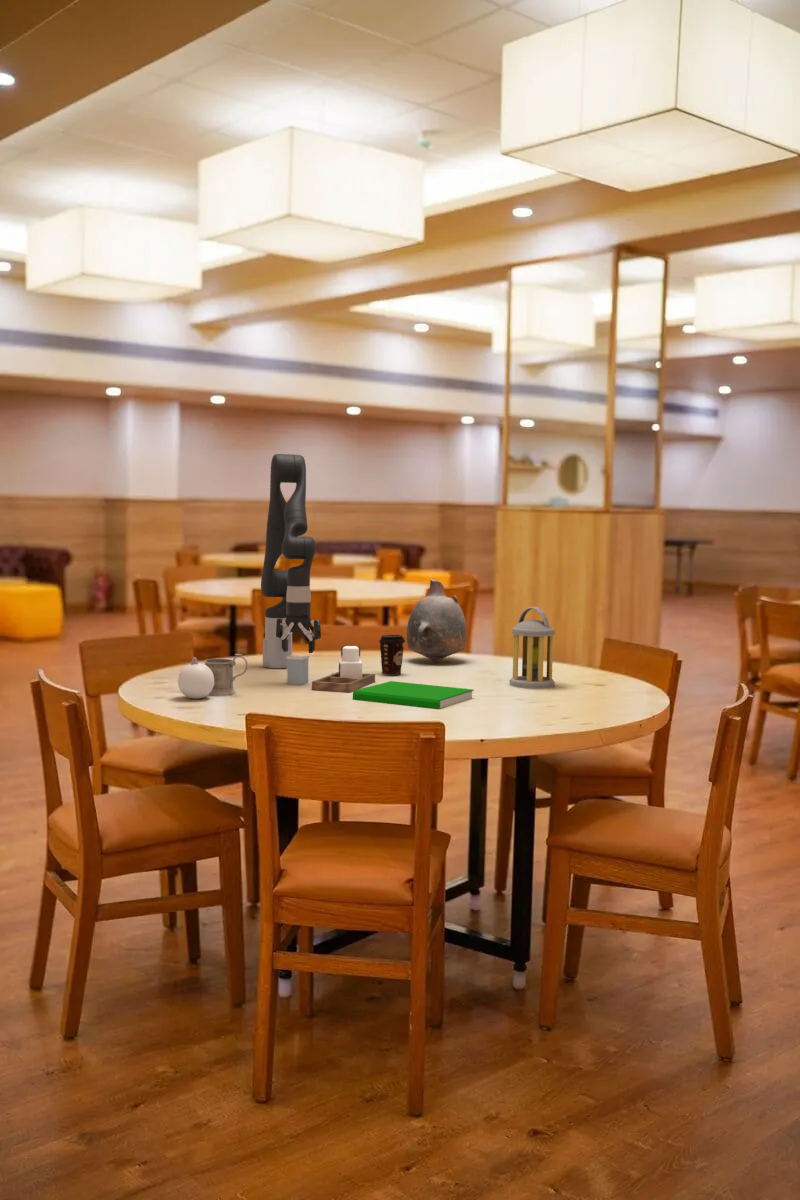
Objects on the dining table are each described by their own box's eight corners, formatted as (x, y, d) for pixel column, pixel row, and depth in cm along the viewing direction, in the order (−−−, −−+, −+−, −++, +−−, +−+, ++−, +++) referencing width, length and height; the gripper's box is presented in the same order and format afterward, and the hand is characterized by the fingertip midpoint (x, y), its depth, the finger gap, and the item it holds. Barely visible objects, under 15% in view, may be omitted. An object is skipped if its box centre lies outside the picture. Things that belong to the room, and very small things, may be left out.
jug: (467, 667, 416) (469, 581, 413) (406, 666, 416) (407, 580, 414) (464, 657, 440) (466, 576, 438) (406, 656, 441) (407, 575, 438)
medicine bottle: (338, 681, 380) (339, 644, 379) (361, 681, 381) (361, 644, 379) (339, 685, 373) (339, 647, 372) (362, 685, 373) (362, 647, 372)
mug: (195, 694, 352) (196, 653, 351) (213, 689, 361) (213, 650, 360) (238, 697, 347) (239, 657, 346) (255, 693, 356) (255, 653, 355)
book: (390, 690, 367) (390, 681, 367) (473, 699, 353) (473, 689, 353) (352, 701, 347) (352, 690, 347) (438, 710, 334) (438, 700, 334)
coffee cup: (405, 672, 400) (406, 634, 399) (403, 676, 392) (404, 637, 391) (380, 672, 401) (380, 633, 400) (377, 675, 393) (377, 636, 392)
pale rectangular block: (286, 684, 373) (286, 656, 372) (293, 681, 378) (293, 654, 377) (302, 685, 371) (302, 657, 371) (309, 682, 377) (309, 655, 376)
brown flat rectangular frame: (311, 689, 363) (311, 681, 363) (338, 679, 384) (338, 671, 384) (350, 692, 359) (350, 684, 359) (375, 681, 380) (375, 674, 380)
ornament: (184, 702, 338) (184, 660, 337) (173, 696, 347) (173, 655, 346) (218, 700, 343) (219, 658, 342) (207, 694, 352) (207, 654, 351)
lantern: (500, 684, 379) (502, 606, 376) (527, 680, 389) (529, 603, 387) (536, 690, 369) (538, 609, 367) (563, 685, 379) (565, 607, 377)
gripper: (272, 600, 371) (272, 652, 372) (315, 602, 367) (314, 654, 368) (282, 598, 378) (282, 649, 379) (324, 600, 374) (323, 652, 375)
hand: (298, 652), depth 374 cm, fingers open, 8 cm apart
